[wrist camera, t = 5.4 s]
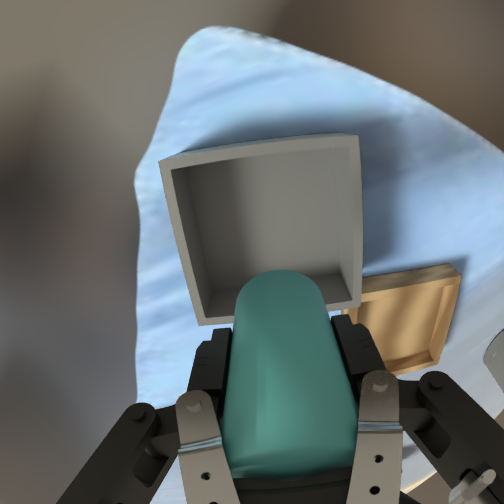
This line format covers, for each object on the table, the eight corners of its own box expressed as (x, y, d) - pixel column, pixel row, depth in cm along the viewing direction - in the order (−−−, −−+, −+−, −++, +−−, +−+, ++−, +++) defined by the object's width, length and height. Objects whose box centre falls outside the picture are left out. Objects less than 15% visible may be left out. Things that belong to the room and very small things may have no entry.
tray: (448, 263, 30) (461, 275, 28) (429, 350, 36) (437, 364, 33) (341, 281, 31) (348, 295, 29) (338, 370, 37) (343, 387, 34)
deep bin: (337, 132, 25) (358, 135, 20) (344, 274, 31) (360, 306, 25) (178, 153, 26) (158, 161, 21) (207, 291, 32) (198, 325, 26)
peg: (322, 264, 14) (383, 430, 6) (323, 336, 16) (359, 489, 7) (228, 275, 14) (198, 450, 6) (243, 345, 16) (233, 502, 8)
